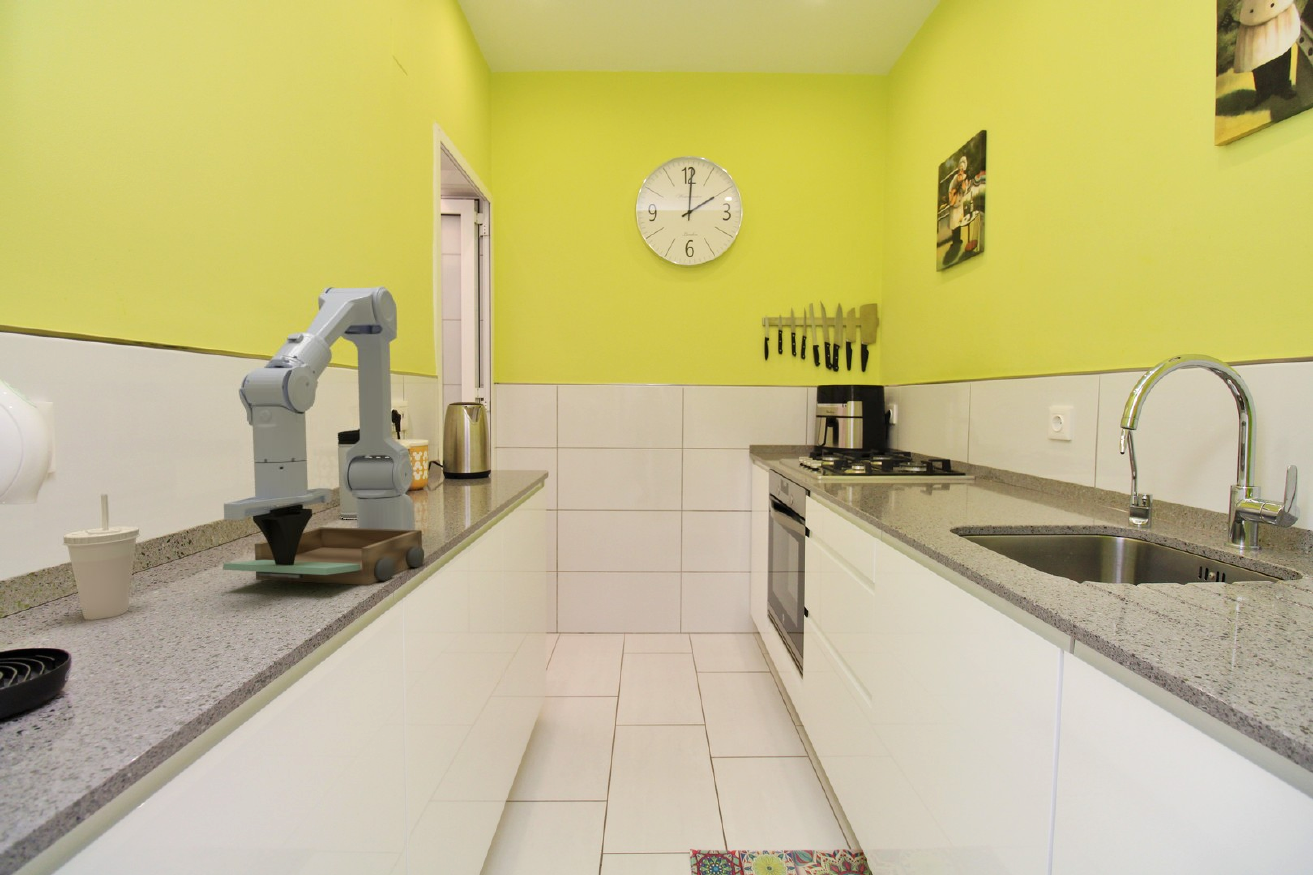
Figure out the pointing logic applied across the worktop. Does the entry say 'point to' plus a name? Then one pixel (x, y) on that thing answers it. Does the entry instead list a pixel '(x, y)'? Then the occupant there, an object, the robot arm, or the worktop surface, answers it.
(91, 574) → the smoothie
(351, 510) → the travel mug
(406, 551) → the cart
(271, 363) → the robot arm
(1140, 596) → the worktop surface
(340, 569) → the tailgate
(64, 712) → the worktop surface
